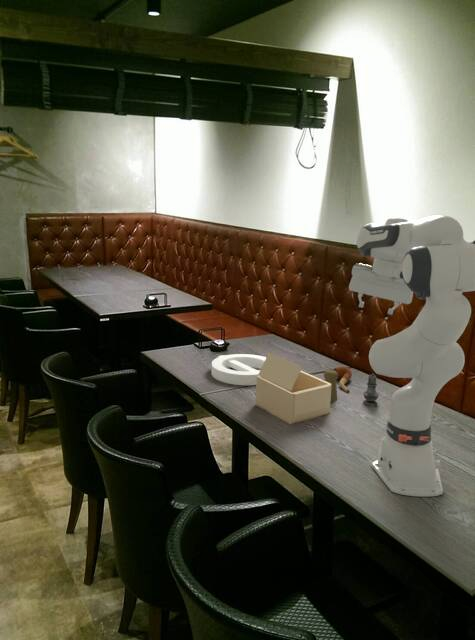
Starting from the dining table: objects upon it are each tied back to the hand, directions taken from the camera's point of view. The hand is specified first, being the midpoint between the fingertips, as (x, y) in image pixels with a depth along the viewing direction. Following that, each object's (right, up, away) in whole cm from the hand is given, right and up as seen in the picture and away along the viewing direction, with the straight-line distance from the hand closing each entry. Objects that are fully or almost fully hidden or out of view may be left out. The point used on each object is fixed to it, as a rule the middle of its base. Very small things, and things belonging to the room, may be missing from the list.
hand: (375, 310), depth 183 cm
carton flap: (-32, -25, +14) cm, 43 cm away
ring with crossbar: (-42, -26, +58) cm, 76 cm away
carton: (-25, -35, +21) cm, 48 cm away
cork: (-10, -33, +33) cm, 47 cm away
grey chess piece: (+5, -34, +29) cm, 45 cm away
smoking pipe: (0, -30, +49) cm, 57 cm away
